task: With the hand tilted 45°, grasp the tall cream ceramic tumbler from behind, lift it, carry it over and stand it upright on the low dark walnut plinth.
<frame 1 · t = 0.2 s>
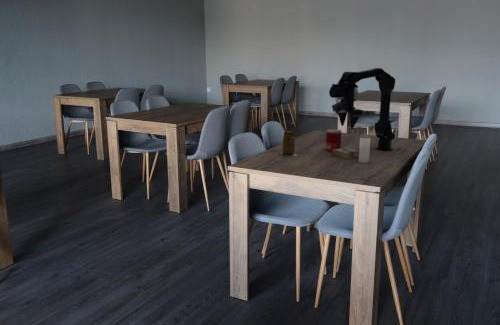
hand: (346, 127, 238), 14 cm above the table, tool pointing down, fingers open, 9 cm apart
canned food: (332, 150, 249), on the table
condiment: (288, 155, 239), on the table
tumbler: (363, 161, 225), on the table
plinth: (345, 156, 236), on the table
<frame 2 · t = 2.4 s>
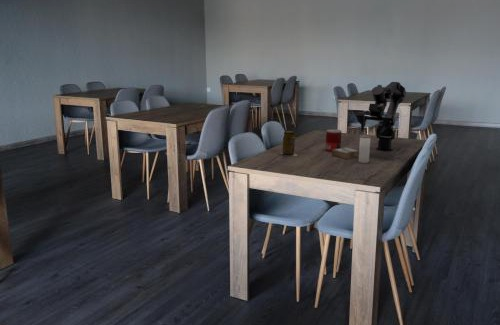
hand: (370, 132, 229), 13 cm above the table, tool tilted 45°, fingers open, 9 cm apart
nothing on the table moved.
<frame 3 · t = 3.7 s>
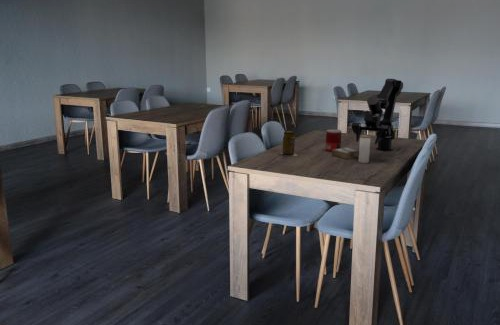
hand: (366, 142, 224), 9 cm above the table, tool tilted 45°, fingers open, 9 cm apart
nothing on the table moved.
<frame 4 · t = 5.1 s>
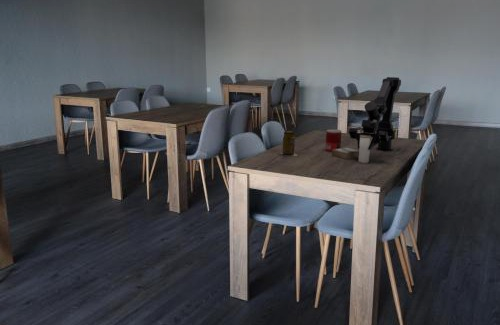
hand: (363, 148, 223), 7 cm above the table, tool tilted 45°, fingers closed on tumbler, 5 cm apart
tumbler: (363, 161, 225), on the table, touching gripper
everything else where it was.
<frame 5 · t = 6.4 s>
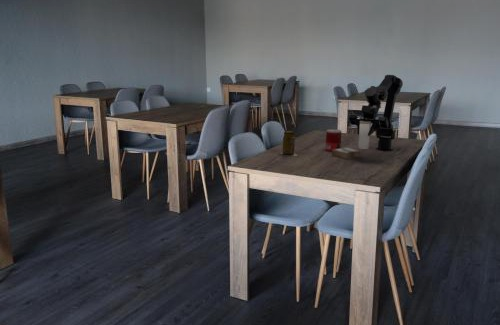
hand: (363, 134, 222), 13 cm above the table, tool tilted 45°, fingers closed on tumbler, 5 cm apart
tumbler: (363, 147, 224), point 7 cm above the table, touching gripper
everything else where it was.
when the fingers open (11 cm above the table, at t = 8.0 s): tumbler drops 1 cm, resting on plinth.
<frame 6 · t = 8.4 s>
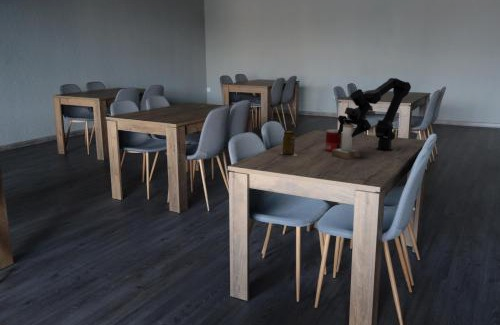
hand: (345, 135, 233), 11 cm above the table, tool tilted 45°, fingers open, 9 cm apart
tumbler: (346, 149, 235), point 3 cm above the table, touching plinth
everything else where it was.
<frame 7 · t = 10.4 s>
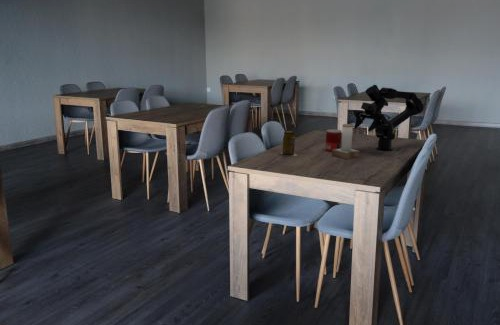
hand: (361, 129, 240), 13 cm above the table, tool tilted 45°, fingers open, 9 cm apart
nothing on the table moved.
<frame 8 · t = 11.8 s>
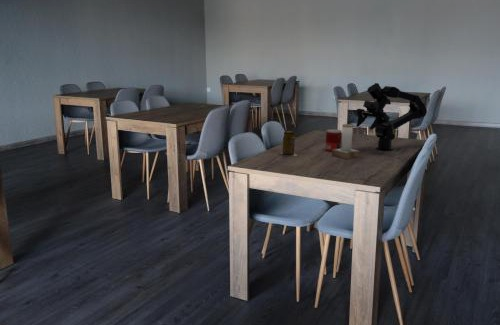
hand: (363, 127, 241), 14 cm above the table, tool tilted 45°, fingers open, 9 cm apart
nothing on the table moved.
at the end: tumbler inside the target area on the plinth (0.1 cm from its centre), point 3.3 cm above the plinth's base; tumbler tilted 1°; the gripper is holding nothing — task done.
